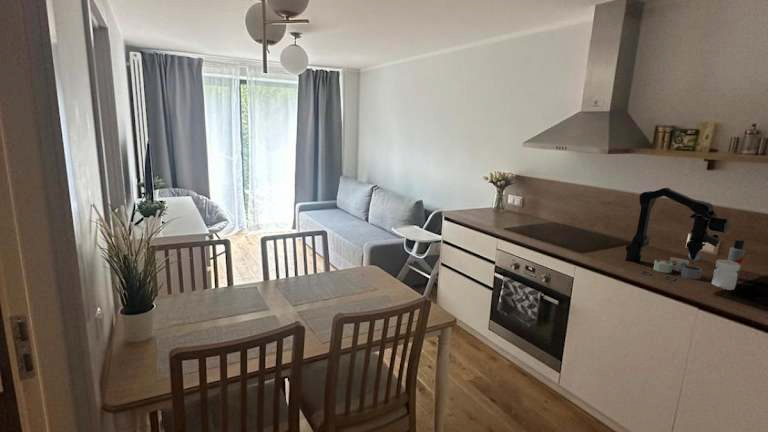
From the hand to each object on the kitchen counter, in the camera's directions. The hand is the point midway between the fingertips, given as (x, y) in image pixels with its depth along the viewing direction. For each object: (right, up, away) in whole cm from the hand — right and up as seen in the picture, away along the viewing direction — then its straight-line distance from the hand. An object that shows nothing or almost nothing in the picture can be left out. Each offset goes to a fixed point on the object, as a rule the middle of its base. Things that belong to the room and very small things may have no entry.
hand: (693, 258), depth 203 cm
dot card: (-1, -8, +10) cm, 13 cm away
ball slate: (0, -1, 0) cm, 1 cm away
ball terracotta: (-9, -7, +10) cm, 15 cm away
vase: (+8, -13, -8) cm, 17 cm away
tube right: (0, -10, +2) cm, 10 cm away
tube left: (-9, -8, +10) cm, 16 cm away
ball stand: (-17, -10, +2) cm, 19 cm away
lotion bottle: (+21, -10, +3) cm, 24 cm away
